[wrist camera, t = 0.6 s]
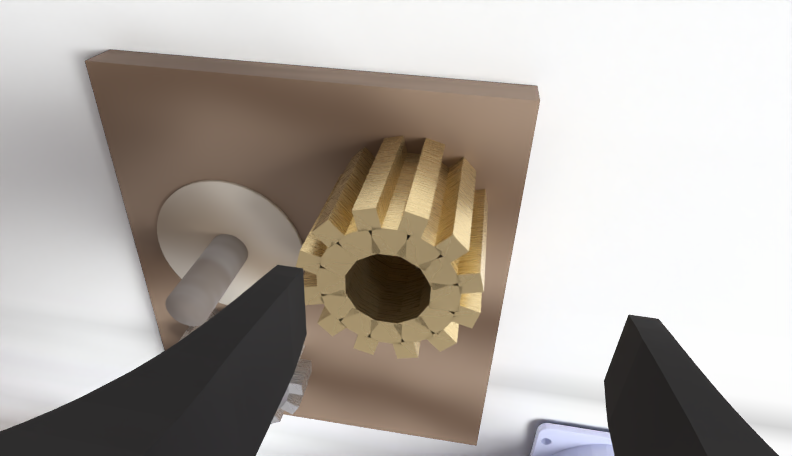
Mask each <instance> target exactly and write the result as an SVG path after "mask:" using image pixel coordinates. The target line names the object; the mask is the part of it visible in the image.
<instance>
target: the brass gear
mask: <svg viewBox="0 0 792 456" xmlns="http://www.w3.org/2000/svg"><path fill="white" fill-rule="evenodd" d="M444 147H445V144H443V143H440V142H437V141H434V140H431V139H429V138H426V139H425V142H424V145H423V147H422V150H421V153H420V154H416V153H407V149H406V144H405V140H404V136H403V135H402V136H396V137H389V138H384V140H383V142H382V144H381V147H380V149H379V151H378V153H377V155H376V158H375V157H374V156H373V155H372V154H371V152H370V151H369V150H368V149H367V148H366V147H364V148H363V149H362V150H360V151H359V152H358V153H357V154H356V155H354V156H353V157H352V158H351V160H350V162H349V164H348V165H347V167H346V169H345V171H344V173H343V174H341V175H340V177H339V179H338V181H337V182H336V184H335V186H334V188H333V190H332V192H331V194H330V195H329V197H328V199H327V201H326V203H325V205H324V207H323V208H322V210H321V212H320V214H319V216H318V218H317V220H316V221H315V223H314V225H313V227H312V229H311V231H310V233H309V234H308V236H307V238H306V240H305V242H304V244H303V245H302V247H301V249H300V252H299V256H298V260H297V264H296V267H297V268H303V270H304V271H305V273H304V294H305V305H315V304H324V305H325V306H324V308H323V311H322V313H321V315H320V318H319V320H318V324H319V325H320V326H321V327H322V328H323V329H325V330H326V331H327V332H328V333H329V334H330V335H331V336H334V335H336V334H337V333H339V332H341V331H342V330H344V329H345V328H348V329H349V330H351V331H353V332H355V333H356V334H358V335H357V338H356V341H355V345H354V349H357V350H360V351H363V352H366V353H369V354H372V355H374V352H375V350H376V347H377V345H378V343H379V342H384V343H391V344H393V346H394V350H395V353H396V356H397V359H399V358H418V354H419V349H420V343H421V341H422V340H425V339H427V340H428V341H429V342H430V343H431V344H432V345H433V346H434V347H435V348H436V349H437V350H438V351H440V352H441V351H443V350H445V349H447V348H448V347H450V346H452V345H454V344H456V343H457V338H458V328H459V324H460V325H463V326H466V327H469V328H473V326H474V324H475V322H476V320H477V319H478V317H479V315H480V313H481V297H482V292H484V280H485V259H486V238H487V216H488V203H487V197H486V190H485V189H483V190H475V180H476V170H475V169H474V168H473V167H472V165H471V164H470V163H469V162H468V161H467V160H466V159H465V158H464V157H463V158H461V159H460V160H459V161H457V162H456V163H455V164H453V165H452V166H450V167H448V166H446V165H445V164H443V163H442V162H441V161H442V156H443V151H444Z"/></svg>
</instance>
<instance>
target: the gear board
mask: <svg viewBox="0 0 792 456" xmlns="http://www.w3.org/2000/svg"><path fill="white" fill-rule="evenodd" d="M85 63H86V67H87V70H88V74H89V78H90V81H91V85H92V89H93V92H94V96H95V99H96V103H97V107H98V110H99V114H100V118H101V121H102V125H103V128H104V132H105V136H106V139H107V143H108V147H109V150H110V154H111V158H112V161H113V165H114V168H115V172H116V176H117V179H118V183H119V187H120V190H121V194H122V197H123V201H124V205H125V208H126V212H127V216H128V219H129V223H130V226H131V230H132V234H133V237H134V241H135V245H136V248H137V252H138V255H139V259H140V263H141V266H142V270H143V274H144V277H145V281H146V284H147V288H148V292H149V295H150V299H151V303H152V306H153V310H154V313H155V317H156V321H157V324H158V328H159V332H160V335H161V339H162V342H163V346H164V350H167V349H168V348H170V347H172V346H173V345H175V344H176V343H177V342H179V340H180V339H181V337H182V336H183V335H184V333H185V332H186V330H187V329H188V327H189V326H200V325H202V324H204V323H205V322H206V320H207V319H208V317H209V316H210V314H211V313H212V311H213V310H214V308H216V309H217V310H218V311H219V312H220V311H221V310H222V309H223V308H225V307H226V306H227V305H229V304H230V303H231V302H232V301H234V300H235V299H236V298H237V297H239V296H240V295H241V294H242V293H243V292H245V291H246V290H247V289H248V288H249V287H251V286H252V285H253V284H254V283H255V282H257V281H258V280H259V279H260V278H262V277H263V276H264V275H265V274H266V273H268V272H269V271H270V270H271V269H273V268H274V267H275V266H277V265H283V266H290V267H296V264H297V260H298V256H299V252H300V249H301V247H302V245H303V244H304V242H305V240H306V238H307V236H308V234H309V233H310V231H311V229H312V227H313V225H314V223H315V221H316V220H317V218H318V216H319V214H320V212H321V210H322V208H323V207H324V205H325V203H326V201H327V199H328V197H329V195H330V194H331V192H332V190H333V188H334V186H335V184H336V182H337V181H338V179H339V177H340V175H341V174H343V173H344V171H345V169H346V167H347V165H348V164H349V162H350V160H351V158H352V157H353V156H354V155H356V154H357V153H358V152H359V151H360V150H362V149H363V148H364V147H366V148H367V149H368V150H369V151H370V152H371V154H372V155H373V156H374V157H375V158H376V155H377V153H378V151H379V149H380V147H381V144H382V142H383V140H384V138H389V137H396V136H402V135H403V136H404V140H405V144H406V149H407V153H416V154H420V153H421V150H422V147H423V145H424V142H425V139H426V138H429V139H431V140H434V141H437V142H440V143H443V144H445V147H444V151H443V156H442V161H441V162H442V163H443V164H445V165H446V166H448V167H450V166H452V165H453V164H455V163H456V162H457V161H459V160H460V159H461V158H463V157H464V158H465V159H466V160H467V161H468V162H469V163H470V164H471V165H472V167H473V168H474V169H475V170H476V180H475V190H483V189H485V190H486V197H487V203H488V216H487V238H486V259H485V280H484V292H482V297H481V313H480V315H479V317H478V319H477V320H476V322H475V324H474V326H473V328H469V327H466V326H463V325H460V324H459V328H458V338H457V343H456V344H454V345H452V346H450V347H448V348H447V349H445V350H443V351H441V352H440V351H438V350H437V349H436V348H435V347H434V346H433V345H432V344H431V343H430V342H429V341H428V340H427V339H425V340H422V341H421V343H420V349H419V354H418V358H399V359H397V356H396V353H395V350H394V346H393V344H391V343H384V342H379V343H378V345H377V347H376V350H375V352H374V355H372V354H369V353H366V352H363V351H360V350H357V349H354V345H355V341H356V338H357V335H358V334H356V333H355V332H353V331H351V330H349V329H348V328H345V329H344V330H342V331H341V332H339V333H337V334H336V335H334V336H331V335H330V334H329V333H328V332H327V331H326V330H325V329H323V328H322V327H321V326H320V325H319V324H318V320H319V318H320V315H321V313H322V311H323V308H324V306H325V305H324V304H315V305H305V312H306V330H307V335H306V338H305V341H304V345H305V348H304V350H303V352H302V355H301V357H300V359H304V360H311V364H312V372H311V375H310V377H309V380H308V382H307V383H308V385H307V387H306V390H305V392H304V395H303V398H302V400H301V403H300V405H299V408H298V409H297V410H296V411H295V412H294V413H293V415H292V414H290V413H288V412H286V411H284V413H283V414H285V415H292V416H298V417H304V418H310V419H316V420H322V421H328V422H334V423H341V424H347V425H353V426H359V427H365V428H371V429H377V430H384V431H390V432H396V433H402V434H408V435H414V436H420V437H426V438H433V439H439V440H445V441H451V442H457V443H463V444H469V445H477V440H478V434H479V429H480V423H481V418H482V413H483V407H484V402H485V396H486V391H487V385H488V380H489V375H490V369H491V364H492V358H493V353H494V347H495V342H496V337H497V331H498V326H499V320H500V315H501V309H502V304H503V299H504V293H505V288H506V282H507V277H508V271H509V266H510V261H511V255H512V250H513V244H514V239H515V233H516V228H517V223H518V217H519V212H520V206H521V201H522V195H523V190H524V185H525V179H526V174H527V168H528V163H529V157H530V152H531V147H532V141H533V136H534V130H535V125H536V119H537V114H538V109H539V103H540V98H539V92H538V86H531V85H519V84H507V83H496V82H484V81H472V80H460V79H449V78H437V77H425V76H413V75H402V74H390V73H378V72H366V71H355V70H343V69H331V68H319V67H308V66H296V65H284V64H273V63H261V62H249V61H237V60H226V59H214V58H202V57H190V56H179V55H167V54H155V53H143V52H132V51H120V50H108V51H106V52H103V53H101V54H99V55H97V56H94V57H92V58H90V59H88V60H86V61H85ZM304 273H305V271H304V270H303V276H304Z"/></svg>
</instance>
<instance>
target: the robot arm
mask: <svg viewBox="0 0 792 456" xmlns="http://www.w3.org/2000/svg"><path fill="white" fill-rule="evenodd" d="M306 335H307V330H306V312H305V294H304V276H303V268H297V267H290V266H283V265H277V266H275V267H274V268H273V269H271V270H270V271H269V272H268V273H266V274H265V275H264V276H263V277H262V278H260V279H259V280H258V281H257V282H255V283H254V284H253V285H252V286H251V287H249V288H248V289H247V290H246V291H245V292H243V293H242V294H241V295H240V296H239V297H237V298H236V299H235V300H234V301H232V302H231V303H230V304H229V305H227V306H226V307H225V308H223V309H222V310H221V311H220V312H218V313H217V314H216V315H215V316H213V317H212V318H211V319H209V320H208V321H207V322H205V323H204V324H203V325H201V326H200V327H198V328H197V329H196V330H194V331H193V332H191V333H190V334H189V335H187V336H186V337H184V338H183V339H182V340H180V341H179V342H177V343H176V344H175V345H173V346H172V347H170V348H168V349H167V350H165V351H164V352H162V353H161V354H159V355H158V356H156V357H154V358H153V359H151V360H149V361H148V362H146V363H144V364H143V365H141V366H139V367H137V368H136V369H134V370H132V371H131V372H129V373H127V374H125V375H123V376H121V377H119V378H117V379H116V380H114V381H112V382H110V383H108V384H106V385H104V386H102V387H100V388H98V389H96V390H94V391H92V392H90V393H88V394H86V395H85V396H83V397H80V398H78V399H76V400H74V401H72V402H70V403H68V404H65V405H63V406H61V407H59V408H57V409H54V410H52V411H50V412H47V413H45V414H43V415H40V416H38V417H36V418H33V419H31V420H29V421H26V422H24V423H21V424H19V425H16V426H14V427H11V428H9V429H6V430H3V431H0V456H256V454H257V452H258V449H259V447H260V445H261V443H262V441H263V439H264V437H265V435H266V432H267V430H268V428H269V426H270V424H271V422H272V420H273V418H274V416H275V413H276V411H277V409H278V407H279V405H280V403H281V401H282V398H283V396H284V394H285V392H286V390H287V388H288V386H289V383H290V381H291V379H292V377H293V375H294V372H295V369H296V366H297V363H298V360H299V357H300V354H301V351H302V348H303V345H304V341H305V338H306ZM604 386H605V399H606V411H607V421H608V428H609V432H610V433H609V432H603V431H596V430H590V429H584V428H577V427H571V426H564V425H558V424H552V423H543V424H541V425H539V426H538V428H537V432H536V435H535V439H534V443H533V446H532V450H531V454H530V456H779V455H778V454H777V453H776V452H775V451H774V450H773V449H772V448H771V447H770V446H769V445H768V444H767V443H766V442H765V441H764V440H763V439H762V438H761V437H760V436H759V435H758V434H757V433H756V432H755V431H754V430H753V429H752V428H751V427H750V426H749V425H748V424H747V423H746V421H745V420H744V419H743V418H742V417H741V416H740V415H739V414H738V413H737V412H736V411H735V410H734V408H733V407H732V406H731V405H730V404H729V403H728V402H727V401H726V400H725V398H724V397H723V396H722V395H721V394H720V393H719V392H718V390H717V389H716V388H715V387H714V386H713V385H712V383H711V382H710V381H709V380H708V379H707V377H706V376H705V375H704V374H703V373H702V371H701V370H700V369H699V368H698V367H697V365H696V364H695V363H694V362H693V361H692V359H691V358H690V357H689V356H688V354H687V353H686V352H685V351H684V350H683V348H682V347H681V346H680V345H679V343H678V342H677V341H676V340H675V338H674V337H673V336H672V335H671V333H670V332H669V331H668V330H667V329H666V327H665V326H664V325H663V324H662V323H661V321H660V320H659V319H655V318H648V317H641V316H634V315H628V318H627V321H626V323H625V326H624V329H623V331H622V334H621V337H620V339H619V342H618V345H617V347H616V350H615V353H614V355H613V358H612V361H611V363H610V366H609V369H608V371H607V374H606V377H605V379H604Z"/></svg>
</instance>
